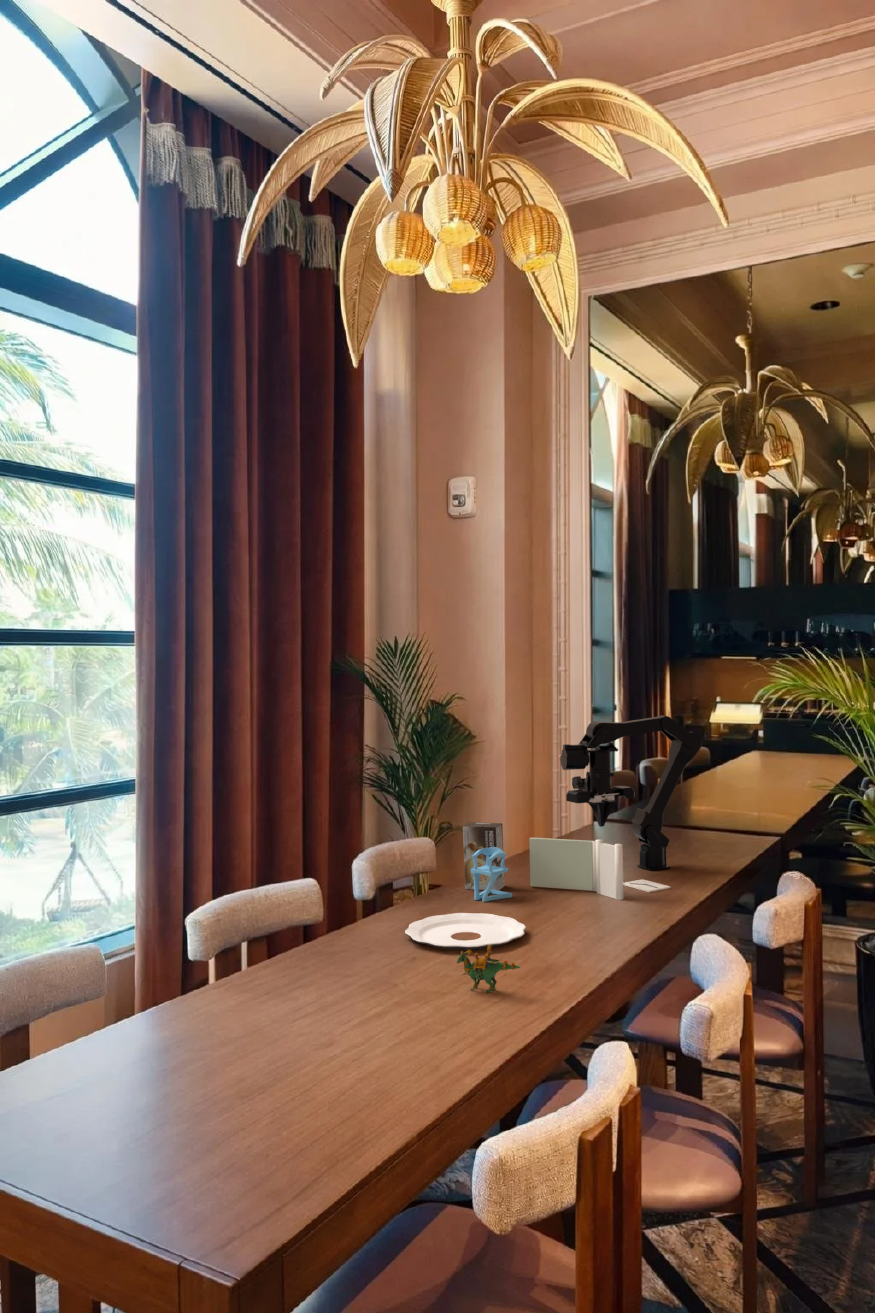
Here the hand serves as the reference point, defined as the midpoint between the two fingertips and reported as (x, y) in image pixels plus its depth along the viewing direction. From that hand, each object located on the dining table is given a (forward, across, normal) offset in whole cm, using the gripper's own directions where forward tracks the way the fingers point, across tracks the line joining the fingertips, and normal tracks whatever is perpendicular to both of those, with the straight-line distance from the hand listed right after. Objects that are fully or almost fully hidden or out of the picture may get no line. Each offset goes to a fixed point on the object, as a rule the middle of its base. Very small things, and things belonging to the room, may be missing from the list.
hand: (601, 826), depth 266 cm
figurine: (+12, +72, +68) cm, 100 cm away
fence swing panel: (+12, +20, +12) cm, 26 cm away
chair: (+12, +40, +10) cm, 43 cm away
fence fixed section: (+12, +14, +24) cm, 30 cm away
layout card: (+12, +1, +20) cm, 23 cm away
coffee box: (+12, +36, 0) cm, 38 cm away
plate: (+12, +60, +36) cm, 71 cm away
